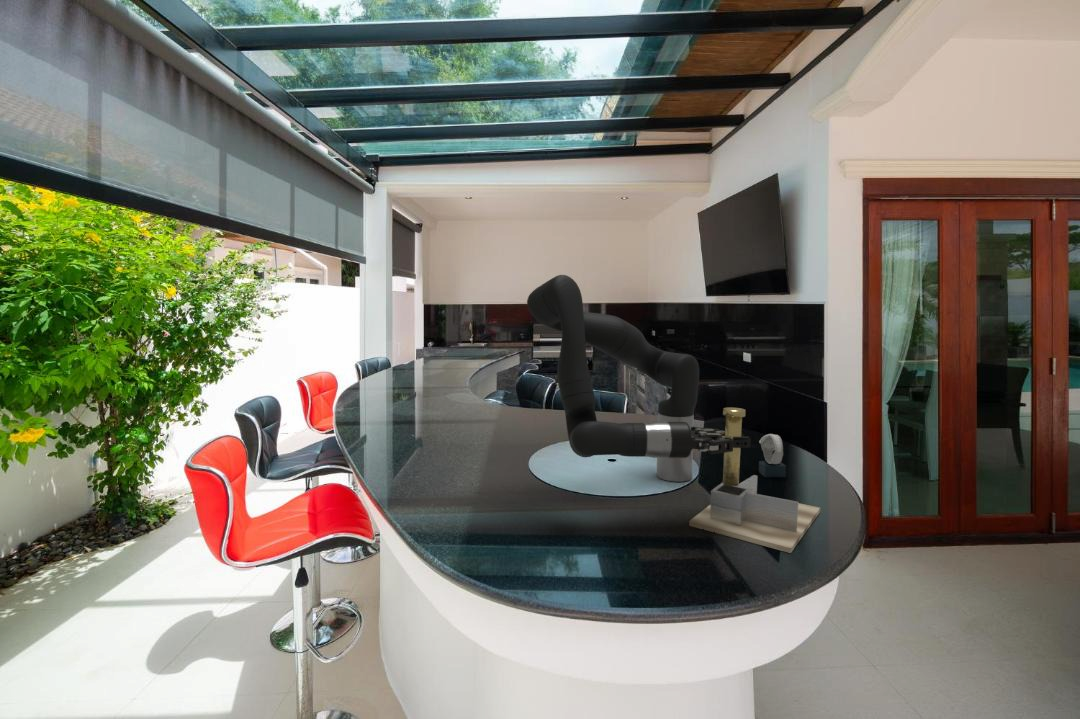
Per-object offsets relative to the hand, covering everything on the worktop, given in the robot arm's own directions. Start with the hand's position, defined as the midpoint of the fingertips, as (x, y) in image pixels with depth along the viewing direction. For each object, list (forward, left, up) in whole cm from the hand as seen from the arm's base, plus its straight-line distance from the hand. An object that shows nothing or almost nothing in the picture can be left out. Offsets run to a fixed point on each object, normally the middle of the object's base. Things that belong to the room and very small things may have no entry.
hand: (746, 439), depth 114 cm
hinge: (-3, +3, -17) cm, 17 cm away
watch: (-36, -4, -18) cm, 41 cm away
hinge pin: (+2, -2, -9) cm, 10 cm away
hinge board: (-3, +2, -18) cm, 18 cm away
